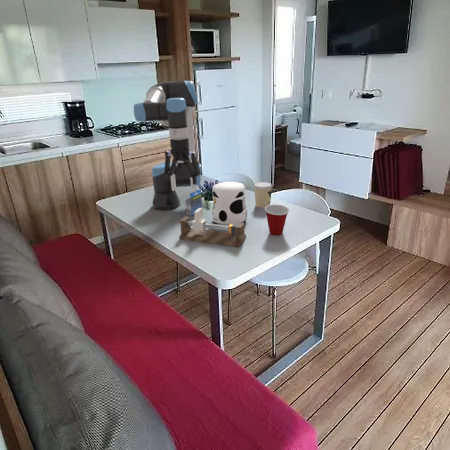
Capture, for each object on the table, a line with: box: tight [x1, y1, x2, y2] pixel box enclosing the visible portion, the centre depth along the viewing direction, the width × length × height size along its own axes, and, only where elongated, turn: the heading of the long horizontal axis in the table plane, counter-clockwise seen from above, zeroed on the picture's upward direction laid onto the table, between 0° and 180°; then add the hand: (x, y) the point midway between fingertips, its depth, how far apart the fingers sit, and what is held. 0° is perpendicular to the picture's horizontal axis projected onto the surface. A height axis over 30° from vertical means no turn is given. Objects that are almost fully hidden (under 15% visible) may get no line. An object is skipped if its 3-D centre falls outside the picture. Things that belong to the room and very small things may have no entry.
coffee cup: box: [253, 181, 273, 209], centre depth 194 cm, size 9×9×12 cm
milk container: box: [211, 181, 248, 226], centre depth 175 cm, size 17×17×18 cm
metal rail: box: [187, 220, 237, 234], centre depth 160 cm, size 26×4×4 cm, turn 69°
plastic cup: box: [264, 204, 290, 237], centre depth 162 cm, size 11×11×12 cm
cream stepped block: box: [191, 207, 207, 231], centre depth 161 cm, size 5×5×9 cm
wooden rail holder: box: [178, 216, 247, 248], centre depth 160 cm, size 28×10×8 cm, turn 69°
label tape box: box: [185, 189, 203, 217], centre depth 189 cm, size 9×4×12 cm, turn 144°
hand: (183, 190), depth 157 cm, fingers open, 9 cm apart
